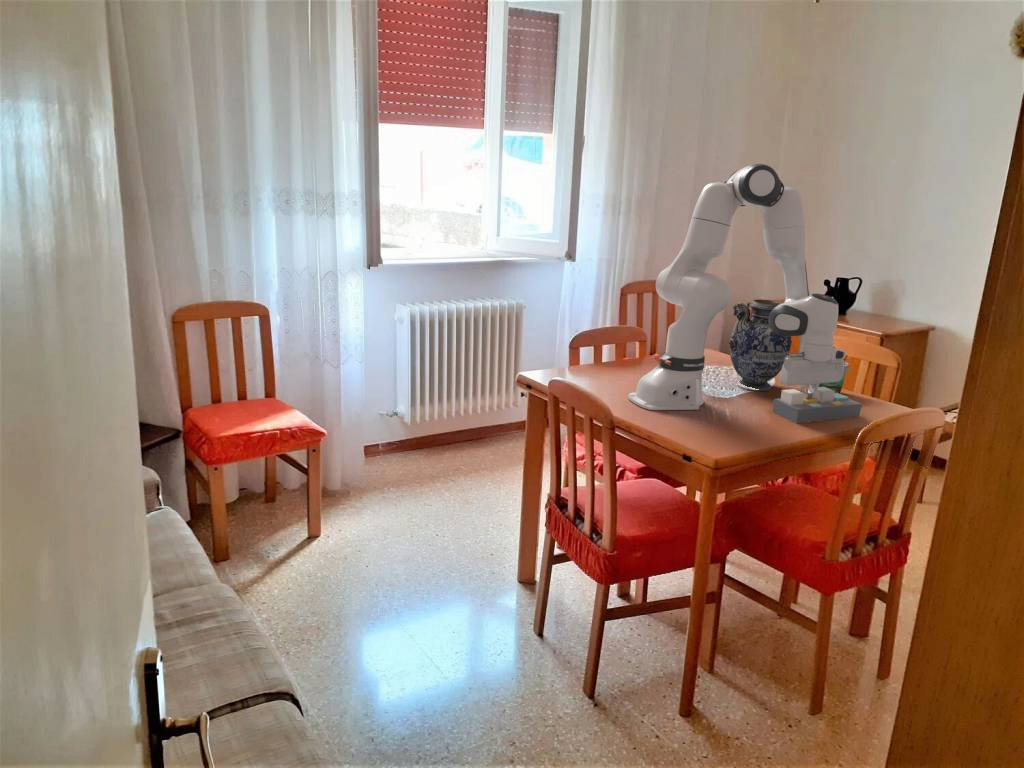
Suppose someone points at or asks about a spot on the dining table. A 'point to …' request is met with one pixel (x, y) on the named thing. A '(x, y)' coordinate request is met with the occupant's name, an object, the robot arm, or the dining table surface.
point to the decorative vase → (757, 345)
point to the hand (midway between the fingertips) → (807, 397)
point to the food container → (836, 385)
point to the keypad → (817, 410)
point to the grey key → (824, 394)
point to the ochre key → (810, 400)
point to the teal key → (839, 397)
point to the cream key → (792, 397)
